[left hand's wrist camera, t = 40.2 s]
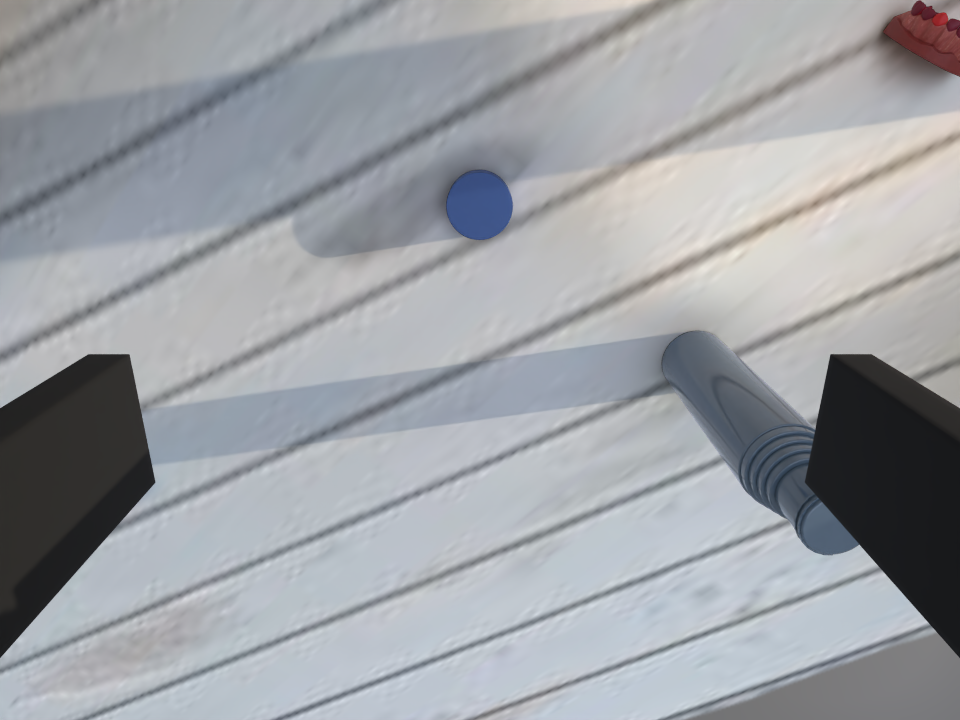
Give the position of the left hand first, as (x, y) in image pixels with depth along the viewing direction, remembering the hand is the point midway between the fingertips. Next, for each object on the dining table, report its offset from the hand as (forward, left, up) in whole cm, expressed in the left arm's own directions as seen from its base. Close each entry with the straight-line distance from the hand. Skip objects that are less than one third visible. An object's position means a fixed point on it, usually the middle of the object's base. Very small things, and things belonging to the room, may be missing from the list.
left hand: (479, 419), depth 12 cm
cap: (0, 0, -32) cm, 32 cm away
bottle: (+15, +12, -33) cm, 39 cm away
